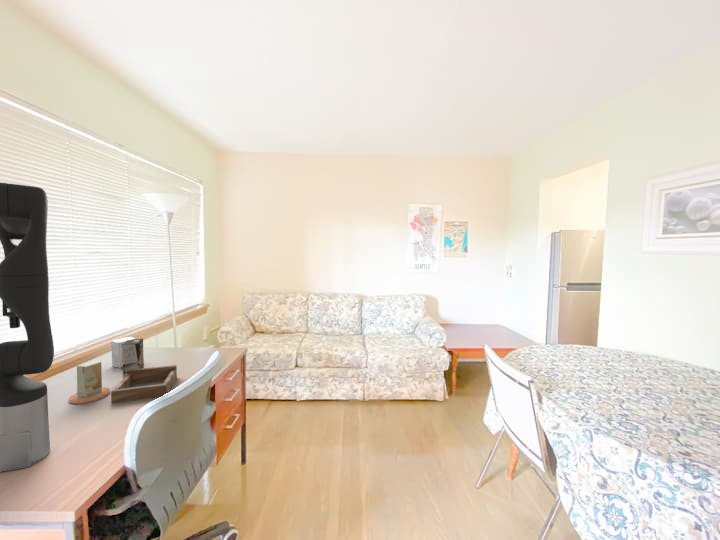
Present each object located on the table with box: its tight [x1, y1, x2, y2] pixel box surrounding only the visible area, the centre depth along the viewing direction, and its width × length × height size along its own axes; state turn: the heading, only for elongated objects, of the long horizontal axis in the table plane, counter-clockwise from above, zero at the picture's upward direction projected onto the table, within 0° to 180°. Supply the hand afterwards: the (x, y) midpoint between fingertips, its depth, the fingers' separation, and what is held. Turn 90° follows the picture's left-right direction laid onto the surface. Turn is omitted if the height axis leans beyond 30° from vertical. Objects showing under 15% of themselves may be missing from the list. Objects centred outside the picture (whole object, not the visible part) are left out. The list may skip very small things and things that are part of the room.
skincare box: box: [76, 360, 103, 398], centre depth 117 cm, size 6×4×12 cm
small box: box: [110, 336, 137, 369], centre depth 150 cm, size 8×6×13 cm
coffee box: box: [122, 338, 145, 380], centre depth 137 cm, size 9×6×16 cm
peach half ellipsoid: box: [68, 386, 111, 405], centre depth 117 cm, size 12×12×1 cm
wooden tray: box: [110, 364, 178, 404], centre depth 124 cm, size 18×18×6 cm
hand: (24, 324), depth 101 cm, fingers open, 8 cm apart
